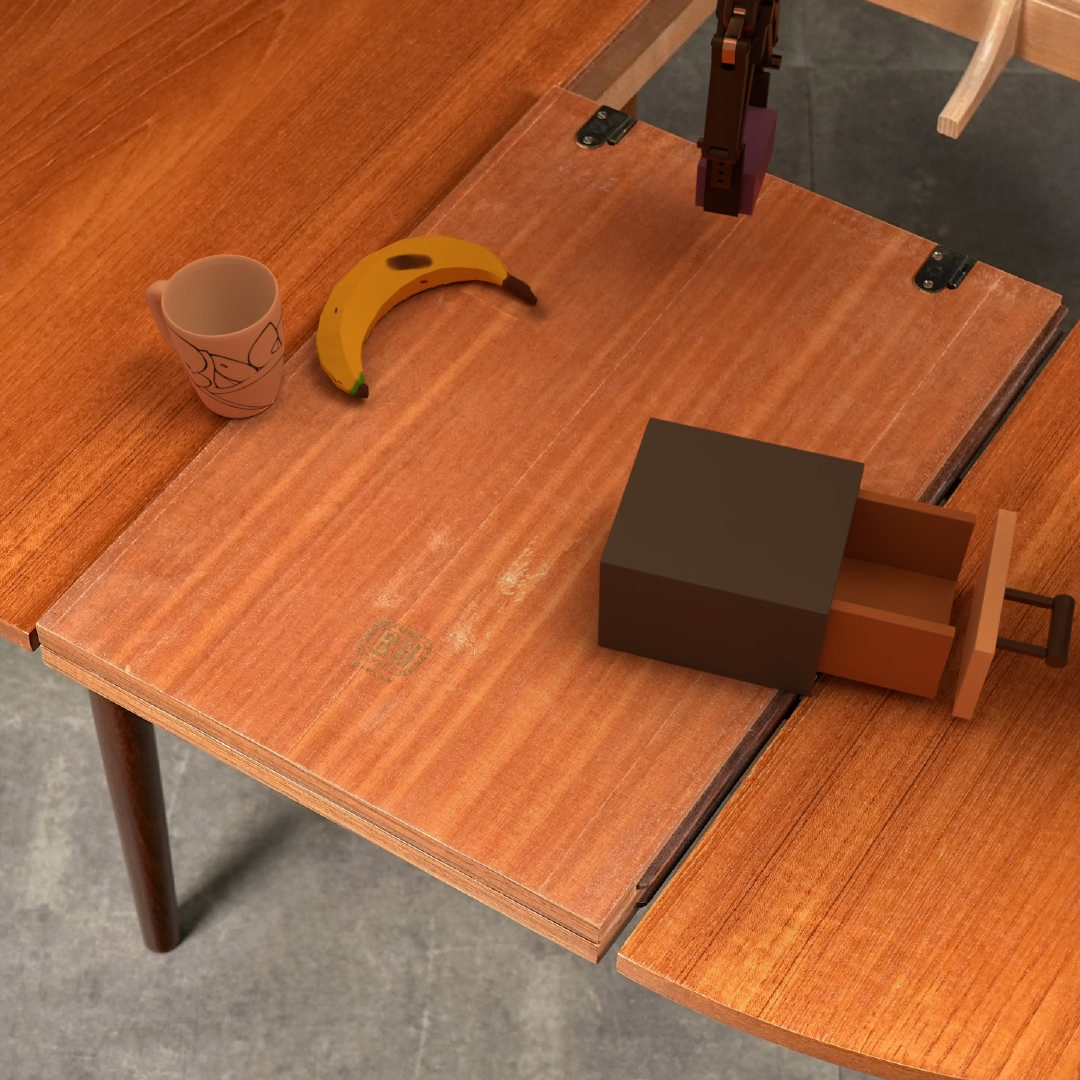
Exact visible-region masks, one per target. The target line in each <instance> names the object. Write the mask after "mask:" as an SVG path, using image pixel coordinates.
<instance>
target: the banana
mask: <svg viewBox="0 0 1080 1080" xmlns="http://www.w3.org/2000/svg"><path fill="white" fill-rule="evenodd" d="M475 280H476V281H481V282H482V281H483V282H487V283H491V284H494V285H497V286H500V287H501V288H504V289H505V290H507V291H508V292H510V293H511V294H512V295H514V296H517V297H518V298H520V299H522V300H524V301H525V302H527V303H529V304H531V305H533V306H535V305H536V306H537V303H538V298H537V296H536V295H535V294H534V292H533V291H532V288H531V286H530V285H529V284H528V283H526V282H525V281H524V280H522V279H520V278H518V277H516V276H514V275H512V274H511V273H510V270H509V268H508V266H507V265H506V263H505V262H504V260H503V259H502V258H500V257H499V256H498V255H497V254H495V253H494V252H493V251H492V250H490V249H489V248H488V247H486V246H483V245H481V244H478V243H476V242H473V241H470V240H468V239H465V238H462V237H455V236H447V235H441V234H426V235H421V236H414V237H407V238H403V239H399V240H396V241H395V242H393V243H391V244H388V245H386V246H385V247H382V248H380V249H378V250H376V251H374V252H372V253H370V254H368V255H366V256H364V257H362V259H360V261H358V262H357V263H356V264H355V265H354V266H353V267H352V268H351V269H350V270H349V271H348V272H347V273H346V274H345V275H344V276H343V277H341V279H340V280H339V281H338V282H337V283H336V284H335V285H334V286H333V288H332V290H331V292H330V293H329V294H330V295H329V296H328V299H327V300H326V302H325V304H324V307H323V309H322V311H321V313H320V317H319V321H318V322H319V323H318V328H317V333H316V338H315V344H314V345H315V349H316V353H317V357H318V361H319V365H320V367H321V369H322V370H323V371H324V372H325V374H326V375H327V377H328V378H329V379H330V380H331V381H332V383H333V384H334V385H335V387H336V388H338V389H340V390H341V391H344V392H345V393H347V394H349V395H351V396H353V397H354V398H358V399H363V400H364V399H368V398H369V396H370V393H369V392H370V391H369V385H368V384H367V383H366V379H365V373H364V369H363V363H362V362H363V361H362V350H363V348H364V345H365V343H366V342H367V340H368V338H369V337H370V335H371V333H372V332H371V331H373V330H374V328H375V327H376V325H377V324H378V322H379V321H380V320H381V319H382V318H383V317H384V316H385V315H386V314H388V313H389V312H390V311H391V310H392V309H393V308H394V307H395V306H396V305H397V304H399V303H400V302H403V301H404V300H407V299H408V298H410V297H412V296H414V295H415V294H417V293H419V292H422V290H423V291H426V290H428V289H427V288H429V289H431V288H430V287H432V288H435V287H437V286H436V285H439V286H442V285H441V284H443V285H447V284H451V282H452V283H456V282H465V281H466V282H467V281H475ZM434 286H435V287H434ZM425 289H426V290H425ZM413 294H414V295H413ZM411 295H412V296H411ZM409 296H410V297H409ZM407 297H408V298H407ZM402 300H403V301H402ZM398 302H399V303H398ZM394 305H395V306H394ZM393 306H394V307H393ZM392 307H393V308H392ZM391 308H392V309H391ZM390 309H391V310H390ZM389 310H390V311H389ZM388 311H389V312H388ZM385 313H386V314H385ZM384 314H385V315H384ZM383 315H384V316H383ZM382 316H383V317H382ZM381 317H382V318H381ZM380 318H381V319H380ZM379 319H380V320H379ZM378 320H379V321H378ZM377 321H378V322H377ZM376 323H377V324H376ZM375 324H376V325H375ZM374 326H375V327H374ZM373 327H374V328H373ZM372 329H373V330H372ZM370 332H371V333H370ZM368 336H369V337H368ZM366 339H367V340H366ZM365 341H366V342H365ZM364 342H365V343H364ZM362 347H363V348H362Z"/></svg>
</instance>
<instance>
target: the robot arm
mask: <svg viewBox="0 0 1080 1080" xmlns="http://www.w3.org/2000/svg"><path fill="white" fill-rule="evenodd" d="M780 10H781V0H717V1H716V8H715V17H716V19H717V24H716V32H715V33H714V34H713V35H712V38H711V39H710V47H711V51H710V52H711V53H710V54H711V55H710V73H709V83H708V89H707V90H708V91H707V101H706V111H705V120H704V121H705V122H704V129H703V137H700V138H698V140H697V142H696V149H700V153H701V154H700V157H701V156H702V158H705V159H707V163H706V177H705V191H704V205H703V207H702V212H706V213H711V214H712V213H713V214H718V215H723V216H729V217H733V218H738V217H739V211H740V201H741V190H742V180H743V170H744V159H745V148H746V143H743V137H744V130H745V124H746V118H747V111H748V105H749V106H755V107H761V108H767V109H768V103H769V101H768V100H769V91H770V80H771V72H770V71H765V69H768V70H769V69H770V70H775V71H780V69H781V66H782V61H783V54H777V53H774V51H773V49H775V48H776V46H777V44H779V41H780V40H779V39H780V37H779V24H780Z"/></svg>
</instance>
